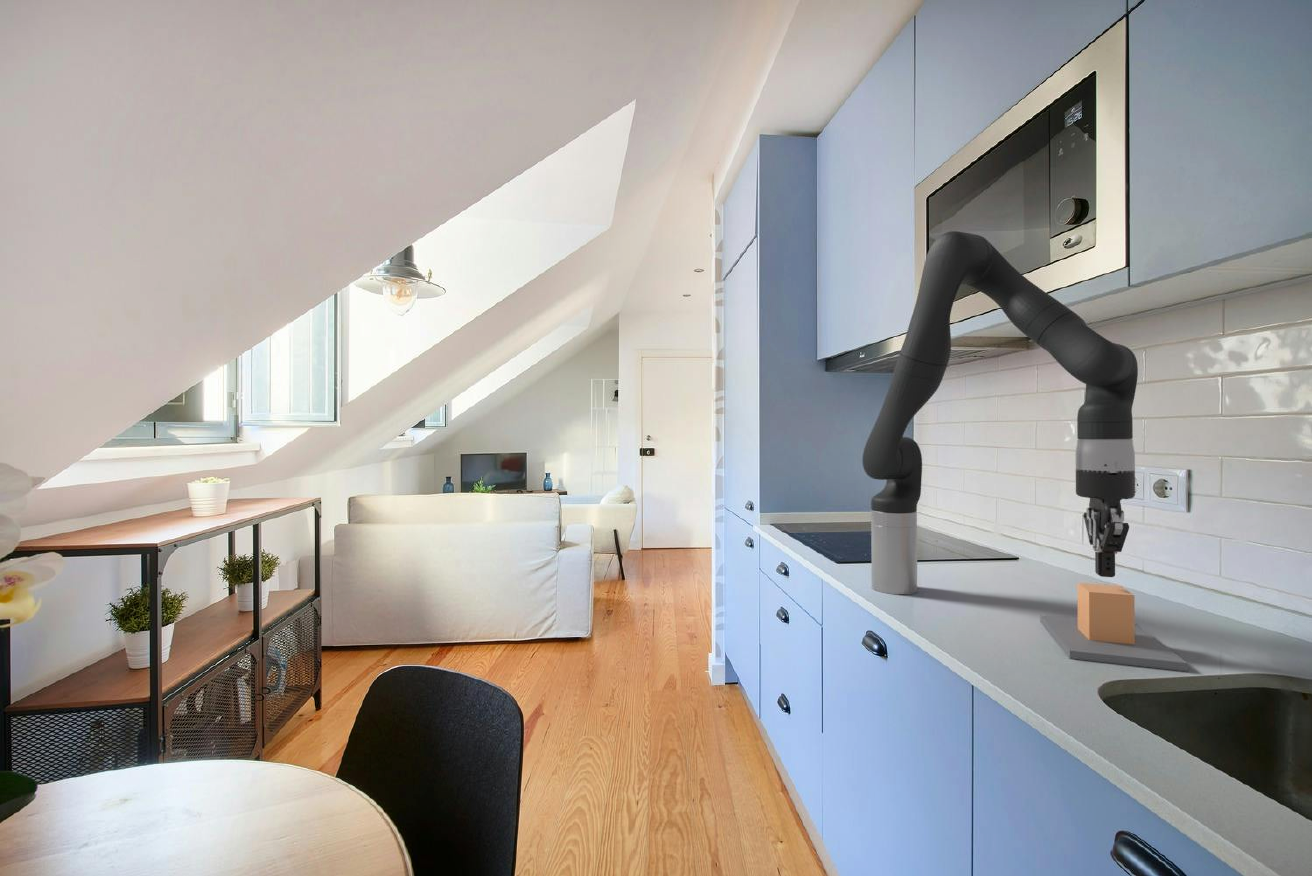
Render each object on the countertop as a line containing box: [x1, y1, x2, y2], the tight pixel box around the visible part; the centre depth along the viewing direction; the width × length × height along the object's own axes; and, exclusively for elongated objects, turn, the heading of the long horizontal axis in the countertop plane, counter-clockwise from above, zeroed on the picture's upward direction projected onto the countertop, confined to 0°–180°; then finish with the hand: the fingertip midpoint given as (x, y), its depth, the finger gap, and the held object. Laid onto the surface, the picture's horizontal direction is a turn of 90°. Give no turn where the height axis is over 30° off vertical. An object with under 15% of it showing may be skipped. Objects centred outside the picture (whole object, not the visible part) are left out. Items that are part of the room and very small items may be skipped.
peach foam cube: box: [1077, 582, 1135, 645], centre depth 94 cm, size 6×6×8 cm
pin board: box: [1039, 614, 1189, 673], centre depth 93 cm, size 18×14×7 cm
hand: (1105, 575), depth 93 cm, fingers closed
